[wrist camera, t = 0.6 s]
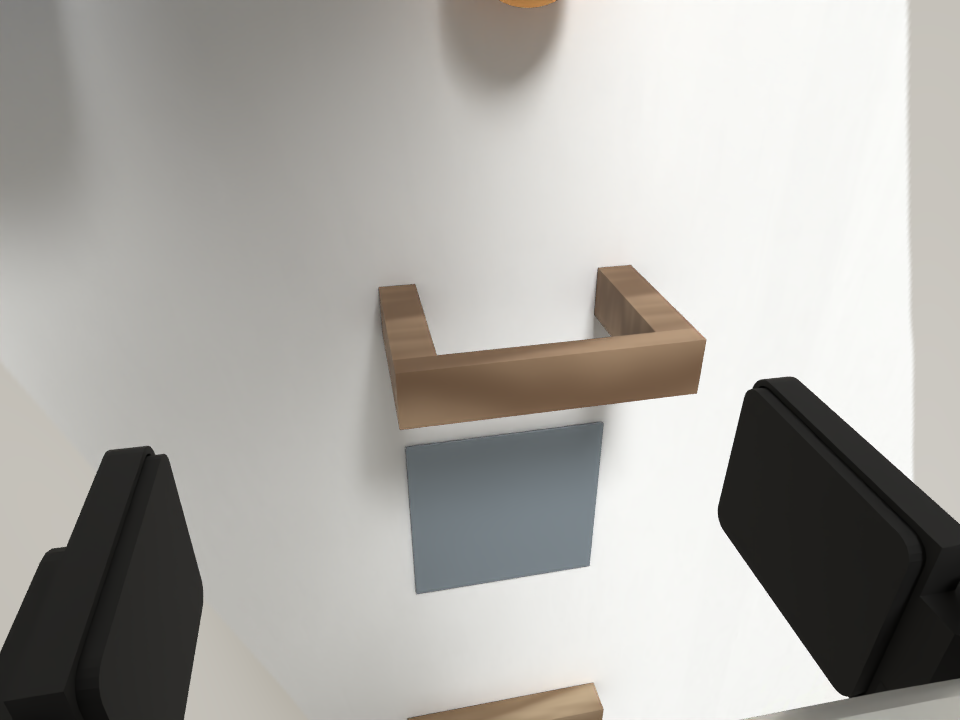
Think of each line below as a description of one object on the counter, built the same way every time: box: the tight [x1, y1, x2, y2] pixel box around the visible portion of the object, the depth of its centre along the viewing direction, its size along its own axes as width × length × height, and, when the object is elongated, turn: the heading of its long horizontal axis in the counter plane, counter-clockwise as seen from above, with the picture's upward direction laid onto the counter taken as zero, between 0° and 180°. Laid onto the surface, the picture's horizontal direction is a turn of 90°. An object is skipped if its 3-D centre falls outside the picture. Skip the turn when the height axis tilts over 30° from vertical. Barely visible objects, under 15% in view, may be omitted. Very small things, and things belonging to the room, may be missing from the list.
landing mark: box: [405, 422, 604, 594], centre depth 48 cm, size 13×13×1 cm
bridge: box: [379, 265, 706, 430], centre depth 36 cm, size 3×15×9 cm, turn 91°
